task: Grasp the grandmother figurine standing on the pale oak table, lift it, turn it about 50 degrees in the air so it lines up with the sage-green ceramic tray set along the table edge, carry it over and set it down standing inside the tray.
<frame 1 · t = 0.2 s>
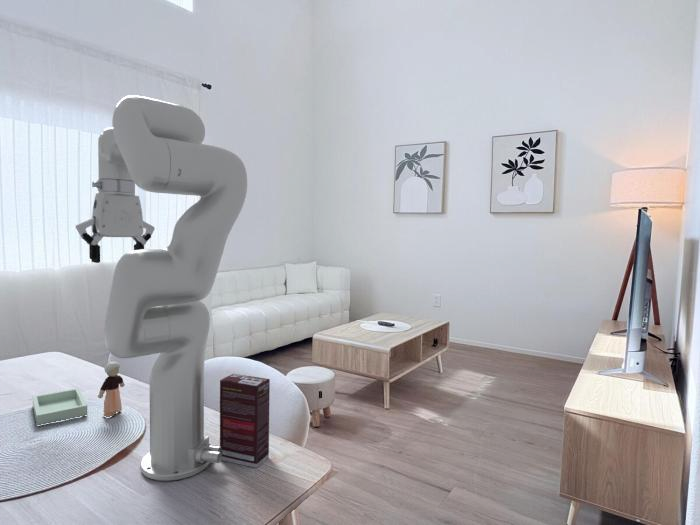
hand: (117, 261, 103), 36 cm above the table, tool pointing down, fingers open, 9 cm apart
supplement box: (244, 459, 85), on the table
grandmother figurine: (113, 414, 104), on the table
tray: (59, 411, 104), on the table
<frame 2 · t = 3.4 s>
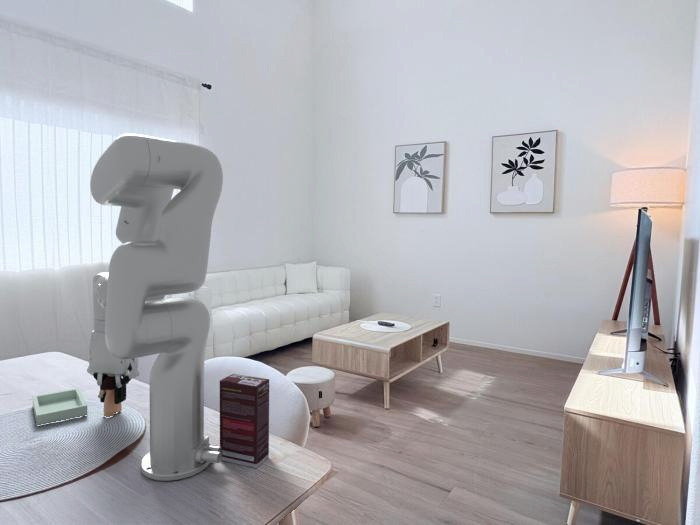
hand: (113, 400, 103), 3 cm above the table, tool pointing down, fingers closed on grandmother figurine, 3 cm apart
grandmother figurine: (113, 414, 104), on the table, touching gripper
everything else where it was.
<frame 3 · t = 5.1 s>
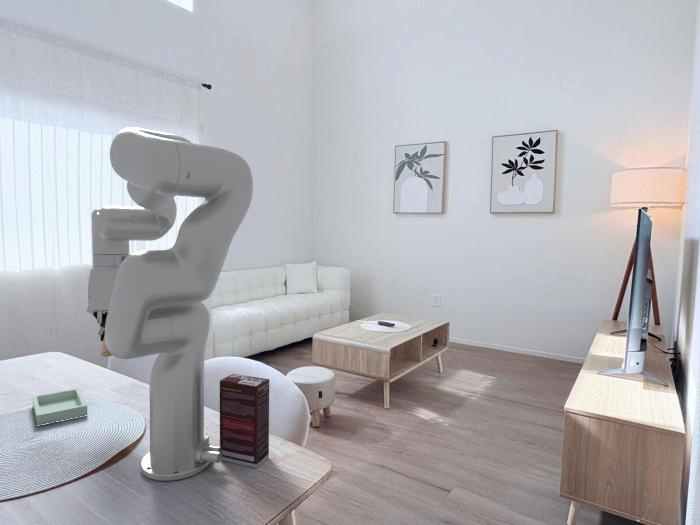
hand: (113, 339, 102), 18 cm above the table, tool pointing down, fingers closed on grandmother figurine, 2 cm apart
grandmother figurine: (111, 354, 102), point 15 cm above the table, touching gripper
everything else where it was.
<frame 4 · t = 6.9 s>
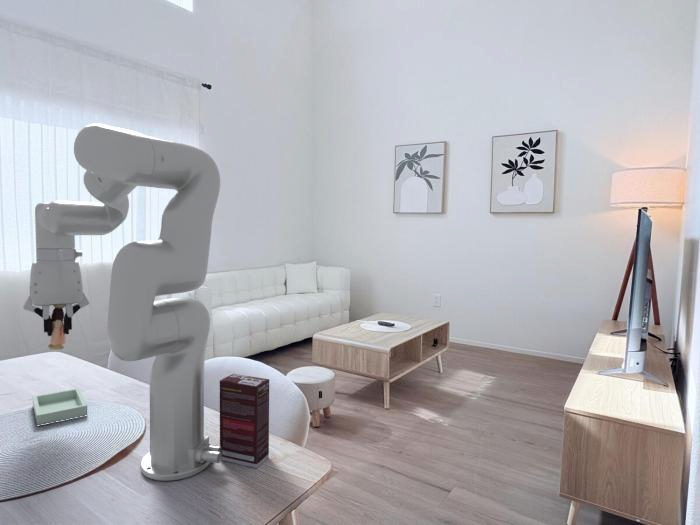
hand: (58, 333, 103), 19 cm above the table, tool pointing down, fingers closed on grandmother figurine, 2 cm apart
grandmother figurine: (55, 347, 103), point 16 cm above the table, touching gripper
everything else where it was.
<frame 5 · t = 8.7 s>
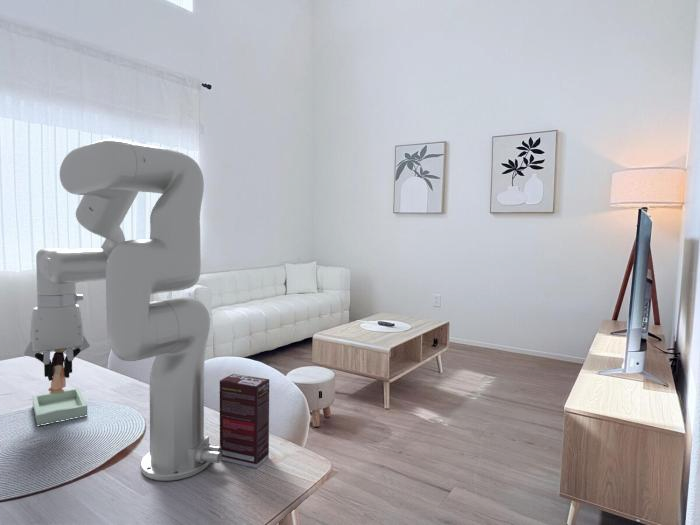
hand: (58, 377, 103), 8 cm above the table, tool pointing down, fingers closed on grandmother figurine, 2 cm apart
grandmother figurine: (55, 391, 103), point 5 cm above the table, touching gripper
everything else where it was.
when the fingers open (5 cm above the table, at t = 10.1 s): grandmother figurine stays where it is, resting on tray.
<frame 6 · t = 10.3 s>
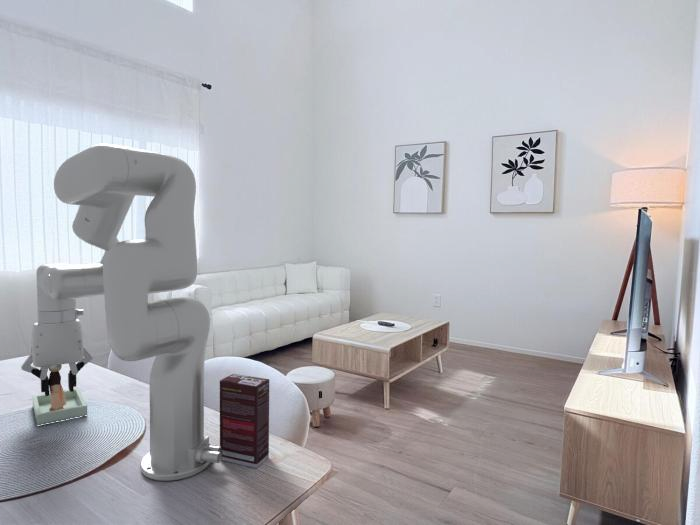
hand: (59, 391, 104), 5 cm above the table, tool pointing down, fingers open, 4 cm apart
grandmother figurine: (57, 410, 104), resting on tray
everything else where it was.
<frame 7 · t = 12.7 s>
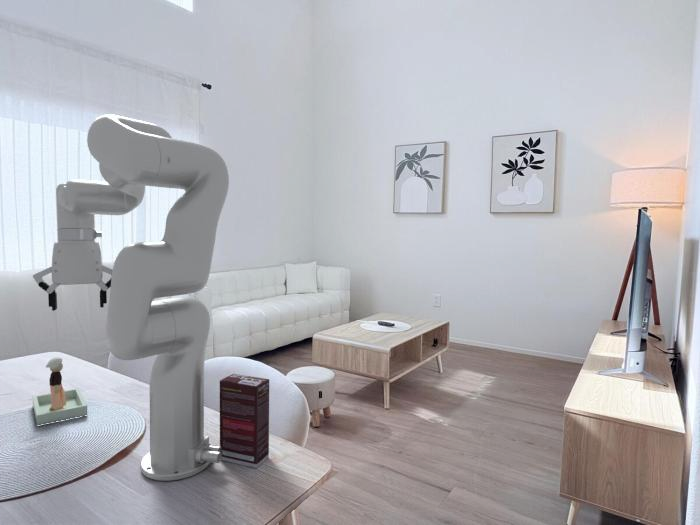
hand: (78, 308, 104), 25 cm above the table, tool pointing down, fingers open, 9 cm apart
nothing on the table moved.
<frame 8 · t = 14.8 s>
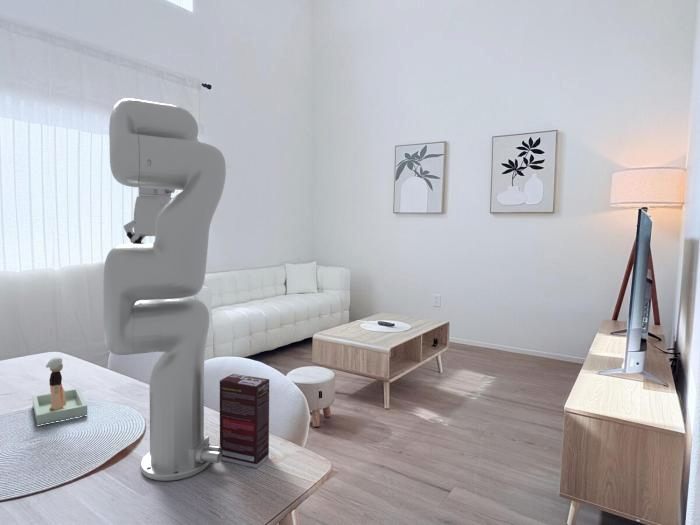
hand: (155, 258, 112), 36 cm above the table, tool pointing down, fingers open, 9 cm apart
nothing on the table moved.
at the end: grandmother figurine inside the target area on the tray (0.5 cm from its centre), point 0.4 cm above the tray's base; grandmother figurine tilted 0°; the gripper is holding nothing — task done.
